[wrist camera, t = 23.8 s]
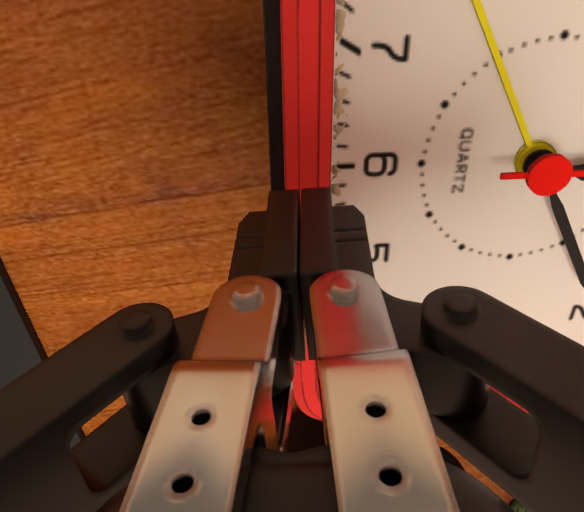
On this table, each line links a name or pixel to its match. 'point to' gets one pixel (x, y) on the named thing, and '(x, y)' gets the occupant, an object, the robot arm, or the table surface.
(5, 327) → the rubber mat
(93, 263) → the table surface
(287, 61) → the alarm clock
